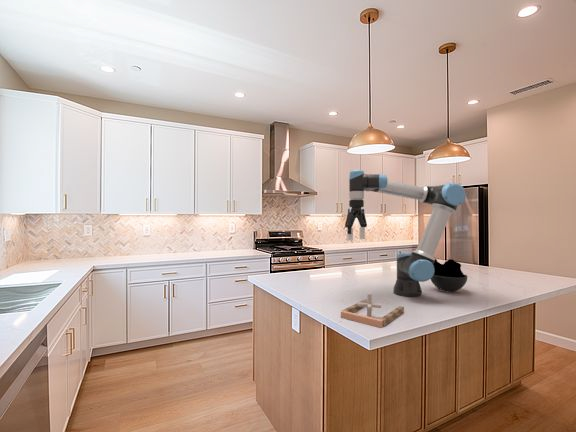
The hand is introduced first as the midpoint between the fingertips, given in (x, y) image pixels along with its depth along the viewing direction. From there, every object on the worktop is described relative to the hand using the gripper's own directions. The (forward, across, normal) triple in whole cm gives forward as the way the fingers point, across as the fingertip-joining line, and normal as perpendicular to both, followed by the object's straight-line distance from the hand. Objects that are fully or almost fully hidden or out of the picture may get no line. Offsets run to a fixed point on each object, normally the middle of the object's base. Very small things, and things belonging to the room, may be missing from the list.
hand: (356, 239), depth 156 cm
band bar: (+32, +29, +17) cm, 46 cm away
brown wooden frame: (+32, +16, +17) cm, 39 cm away
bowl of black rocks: (+32, -52, +33) cm, 69 cm away
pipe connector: (+32, +21, +17) cm, 42 cm away
